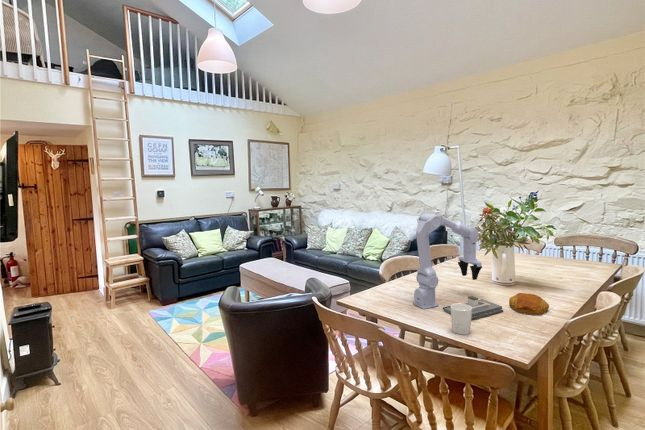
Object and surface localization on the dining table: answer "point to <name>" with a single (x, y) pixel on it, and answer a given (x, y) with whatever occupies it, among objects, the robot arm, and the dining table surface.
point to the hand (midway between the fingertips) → (469, 277)
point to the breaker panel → (480, 308)
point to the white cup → (461, 318)
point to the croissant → (528, 304)
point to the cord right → (486, 315)
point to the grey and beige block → (472, 301)
